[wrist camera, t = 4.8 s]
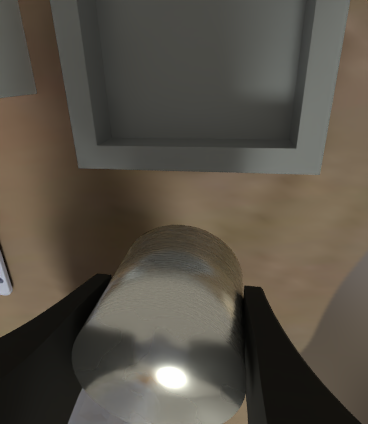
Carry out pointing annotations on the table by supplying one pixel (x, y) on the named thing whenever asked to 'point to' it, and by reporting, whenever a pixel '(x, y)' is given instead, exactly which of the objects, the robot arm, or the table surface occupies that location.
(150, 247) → the metal can
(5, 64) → the pale upright block
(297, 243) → the table surface
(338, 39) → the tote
